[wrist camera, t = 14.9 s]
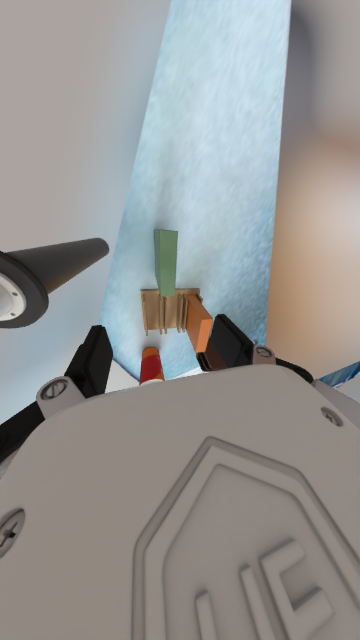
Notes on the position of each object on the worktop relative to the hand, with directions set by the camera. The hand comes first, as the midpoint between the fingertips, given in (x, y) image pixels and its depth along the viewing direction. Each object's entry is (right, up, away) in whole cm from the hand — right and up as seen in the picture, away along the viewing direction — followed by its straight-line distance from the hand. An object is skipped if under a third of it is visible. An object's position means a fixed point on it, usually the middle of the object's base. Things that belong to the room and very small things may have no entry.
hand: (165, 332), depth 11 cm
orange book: (+4, +4, +30) cm, 30 cm away
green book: (-3, +17, +20) cm, 27 cm away
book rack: (-2, +4, +29) cm, 30 cm away
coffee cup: (-10, -11, +38) cm, 41 cm away
